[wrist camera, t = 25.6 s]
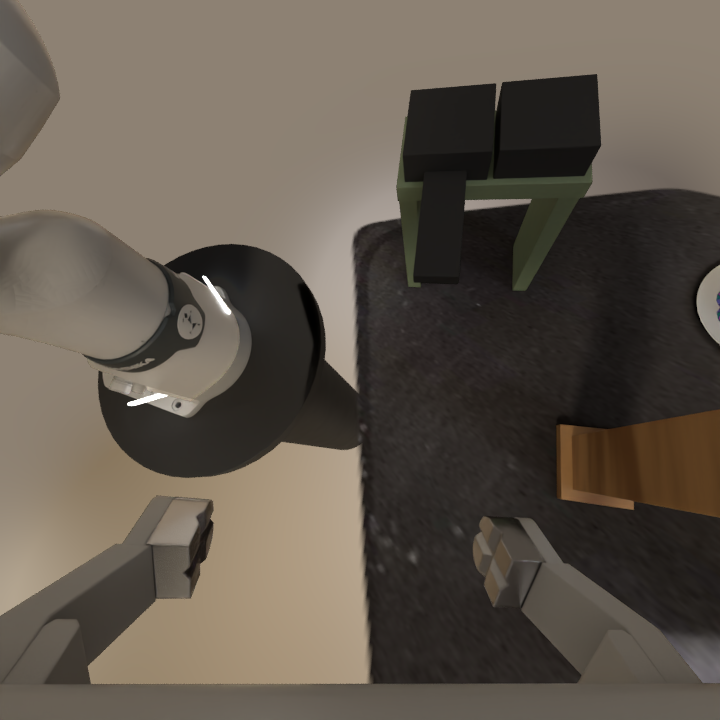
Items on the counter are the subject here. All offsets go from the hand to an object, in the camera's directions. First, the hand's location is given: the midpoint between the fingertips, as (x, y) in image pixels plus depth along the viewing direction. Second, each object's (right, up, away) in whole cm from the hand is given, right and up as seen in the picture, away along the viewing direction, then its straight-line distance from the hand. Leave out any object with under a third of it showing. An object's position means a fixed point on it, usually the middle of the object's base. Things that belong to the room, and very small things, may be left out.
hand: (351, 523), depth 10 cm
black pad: (+6, +17, +15) cm, 24 cm away
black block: (+13, +21, +15) cm, 29 cm away
